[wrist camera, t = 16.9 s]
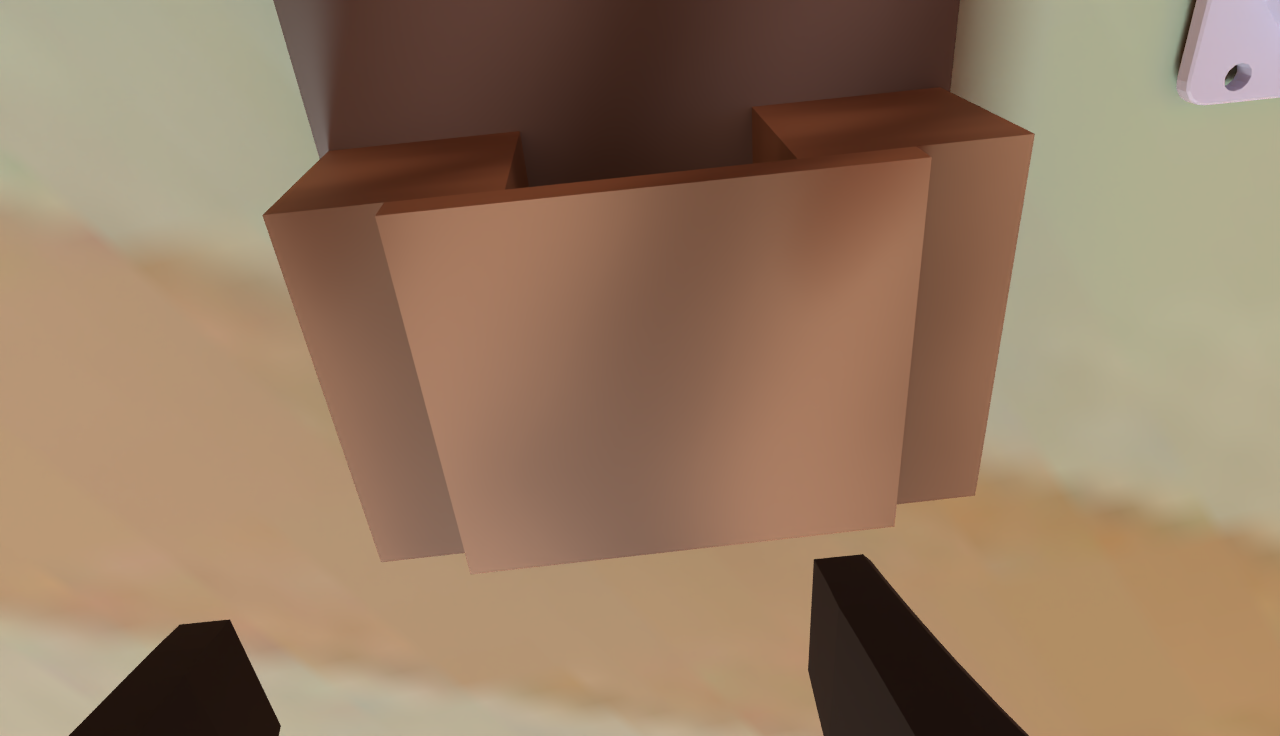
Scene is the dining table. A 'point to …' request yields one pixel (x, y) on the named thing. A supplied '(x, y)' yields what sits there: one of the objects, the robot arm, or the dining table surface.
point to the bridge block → (645, 267)
